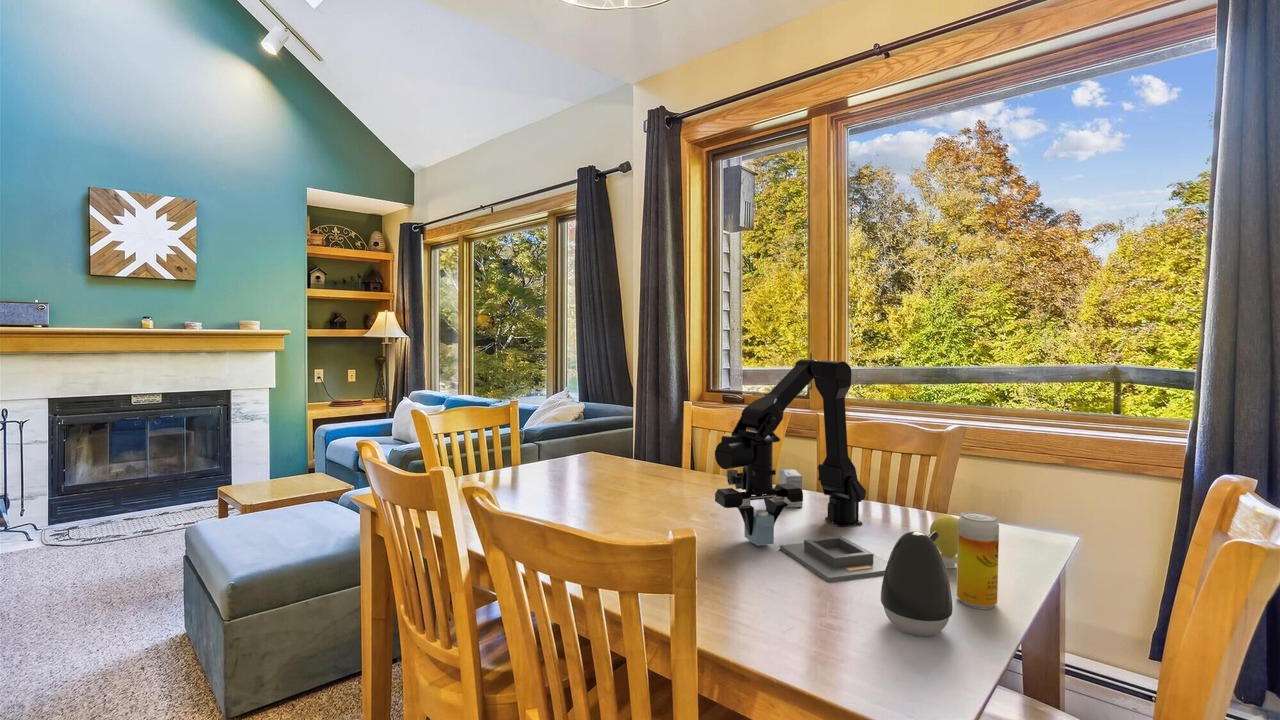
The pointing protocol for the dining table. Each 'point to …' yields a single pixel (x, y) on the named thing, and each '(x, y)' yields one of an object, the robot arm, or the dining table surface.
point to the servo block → (761, 528)
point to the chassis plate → (836, 558)
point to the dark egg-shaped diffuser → (917, 586)
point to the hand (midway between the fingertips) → (758, 534)
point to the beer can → (977, 560)
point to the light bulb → (946, 539)
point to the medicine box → (793, 479)
